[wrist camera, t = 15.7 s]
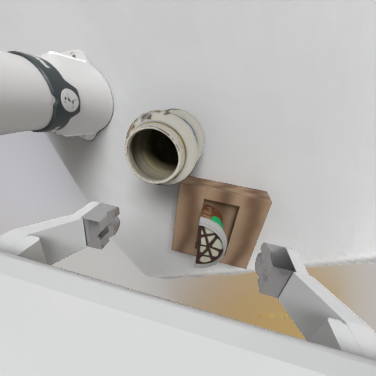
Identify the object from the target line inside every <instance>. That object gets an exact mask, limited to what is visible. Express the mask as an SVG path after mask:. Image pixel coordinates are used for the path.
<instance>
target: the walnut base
mask: <svg viewBox="0 0 376 376" xmlns="http://www.w3.org/2000/svg"><path fill="white" fill-rule="evenodd" d="M205 204H207V205H210V206H212V207H214V208H216V209H217V210H218V211H219V213H220V214H221V216H222V221H223V231H224V233H225V235H226V238H227V247H226V251H225V253H224V255H223V257H222V258H221V260H220V261H219V262H221V263H225V264H229V265H232V266H236V267H240V268H244V269H246V268H247V265H248V263H249V260H250V258H251V255H252V252H253V250H254V247H255V245H256V242H257V240H258V237H259V234H260V232H261V229H262V227H263V224H264V222H265V219H266V217H267V214H268V211H269V209H270V206H271V204H272V202H271V199H270V197H269V195H268V193H267V192H266V191H261V190H256V189H251V188H246V187H241V186H236V185H231V184H226V183H221V182H216V181H211V180H206V179H201V178H196V177H191V176H187V177H186V178H185V179H183V180H182V181H181V182H180V185H179V193H178V202H177V210H176V218H175V227H174V235H173V244H172V250H175V251H179V252H183V253H186V254H190V255H194V256H196V255H197V247H198V238H199V230H200V225H199V222H200V217H201V215H202V212H203V208H204V205H205Z"/></svg>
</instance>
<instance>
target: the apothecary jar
mask: <svg viewBox="0 0 376 376" xmlns="http://www.w3.org/2000/svg"><path fill="white" fill-rule="evenodd" d="M203 149H204V133H203V130H202V128H201V125H200V124H199V122H198V121H197V120H196V118H195V117H193V116H192V115H191V114H190V113H188V112H186V111H183V110H180V109H168V110H164V111H150V112H147V113H145V114H143V115H141V116H139V117H138V118H137V119H136V120H135V121H134V122H133V123H132V125H131V126H130V128H129V130H128V133H127V136H126V144H125V156H126V160H127V163H128V165H129V167H130V168H131V170H132V171H133V172H134V174H135V175H136V176H138V177H139V178H141V179H142V180H144V181H146V182H149V183H154V184H158V185H172V184H175V183H178V182H180V181H182V180H183V179H185V178H186V177H187V176H188V175H189V174H190V173H191V171H192V170H193V168H194V166H195V163H196V162H197V161H198V159H199V158H200V156H201V154H202V152H203Z"/></svg>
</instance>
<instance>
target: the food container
mask: <svg viewBox="0 0 376 376" xmlns="http://www.w3.org/2000/svg"><path fill="white" fill-rule="evenodd" d="M199 225H200V230H199V238H198V247H197V255H196V261H195V266H194V267H199V268H204V267H210V266H213V265H215V264H216V263H218V262H219V261H220V260H221V258H222V257H223V255H224V253H225V251H226V247H227V238H226V235H225V233H224V231H223V221H222V216H221V214H220V213H219V211H218V210H217V209H216V208H214V207H212V206H210V205H207V204H205V205H204V208H203V212H202V215H201V217H200V222H199Z"/></svg>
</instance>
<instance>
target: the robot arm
mask: <svg viewBox="0 0 376 376" xmlns="http://www.w3.org/2000/svg"><path fill="white" fill-rule="evenodd" d="M75 56H76V58H75ZM112 112H113V99H112V94H111V91H110V88H109V86H108V84H107V82H106V80H105V79H104V77H103V76H102V75H101V74H100V73H99V72H98V71H97V70H96V69H95V68H94V67H93V66H92V65H91V63H90V61H89V59H88V58H87V56H86V54H85V53H84V52H83V51H81V50H77V49H76V50H70V51H64V52H58V53H56V52H52V51H49V52H48V53H45V54H40V55H37V56H34V55H31V54H28V53H24V52H23V53H22V52H16V51H9V52H5V51H1V50H0V135H4V134H10V133H16V132H23V131H33V132H54V131H55V133H56V134H58V135H63V136H78V137H81V138H83V139H86V140H93V139H94V138H95V136H96V134H97V132H98V131H100V130H101V129H103V128H104V127H105V126H106V125H107V124H108V123H109V121H110V119H111V116H112ZM118 215H119V208H118V207H115V206H111V205H108V204H104V203H100V202H96V201H91V202H90V203H89V204H87V205H86V206H84V207H83V208H81V209H80V210H78V211H77V212H75V213H74V214H72V215H66V216H62V217H58V218H54V219H50V220H46V221H42V222H38V223H34V224H30V225H26V226H23V227H19V228H15V229H12V230H10V231H8V232H6V233H5V234H3V235H1V236H0V376H376V334H375V332H374V331H373V329H372V328H371V327H369V326H368V325H367V324H366V323H365V322H364V321H363V320H361V319H360V318H359V317H358V316H357V315H356V314H355V313H354V312H352V311H351V310H350V309H349V308H348V307H347V306H346V305H344V304H343V303H342V302H341V301H340V300H339V299H338V298H336V297H335V296H334V295H333V294H332V293H331V292H329V291H328V290H327V289H326V288H325V287H324V286H323V285H322V284H320V283H319V282H318V281H317V280H316V279H314V277H311V276H309V274H308V272H307V270H306V268H305V266H304V264H303V263H302V261H301V259H300V257H299V255H298V253H297V251H296V250H295V249H292V248H287V247H281V246H277V245H273V244H268V243H263V244H262V246H261V253H259V254H258V255H257V258H256V262H255V270H256V273H257V275H258V276H259V278H258V286H259V291H260V293H263V294H266V295H269V296H273V297H276V298H278V300H279V301H280V303H281V304H282V305H283V307H284V308H285V310H286V311H287V313H288V314H289V316H290V317H291V319H292V320H293V321H294V323H295V324H296V326H297V327H298V328H299V330H300V331H301V333H302V334H303V335H304V337H305V338H306V340H307V341H306V340H303V339H299V338H296V337H293V336H289V335H286V334H282V333H279V332H275V331H272V330H269V329H265V328H262V327H258V326H255V325H252V324H248V323H245V322H241V321H238V320H235V319H231V318H228V317H224V316H221V315H217V314H214V313H211V312H208V311H204V310H201V309H197V308H194V307H190V306H187V305H184V304H180V303H177V302H174V301H170V300H167V299H163V298H160V297H157V296H153V295H150V294H146V293H143V292H140V291H136V290H133V289H129V288H126V287H123V286H119V285H116V284H112V283H109V282H106V281H102V280H99V279H95V278H92V277H89V276H85V275H81V274H78V273H75V272H71V271H68V270H65V269H61V268H58V267H55V266H51V265H52V264H54V263H56V262H58V261H60V260H62V259H64V258H66V257H68V256H70V255H72V254H74V253H76V252H77V251H79V250H81V249H83V248H85V247H87V246H89V247H93V248H97V249H102V248H103V247H104V246H105V245H106V244H107V243H108V242H109V237H112V236H114V235H115V234H116V232H117V231H118V229H119V225H120V220H119V218H118V217H117V216H118Z"/></svg>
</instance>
